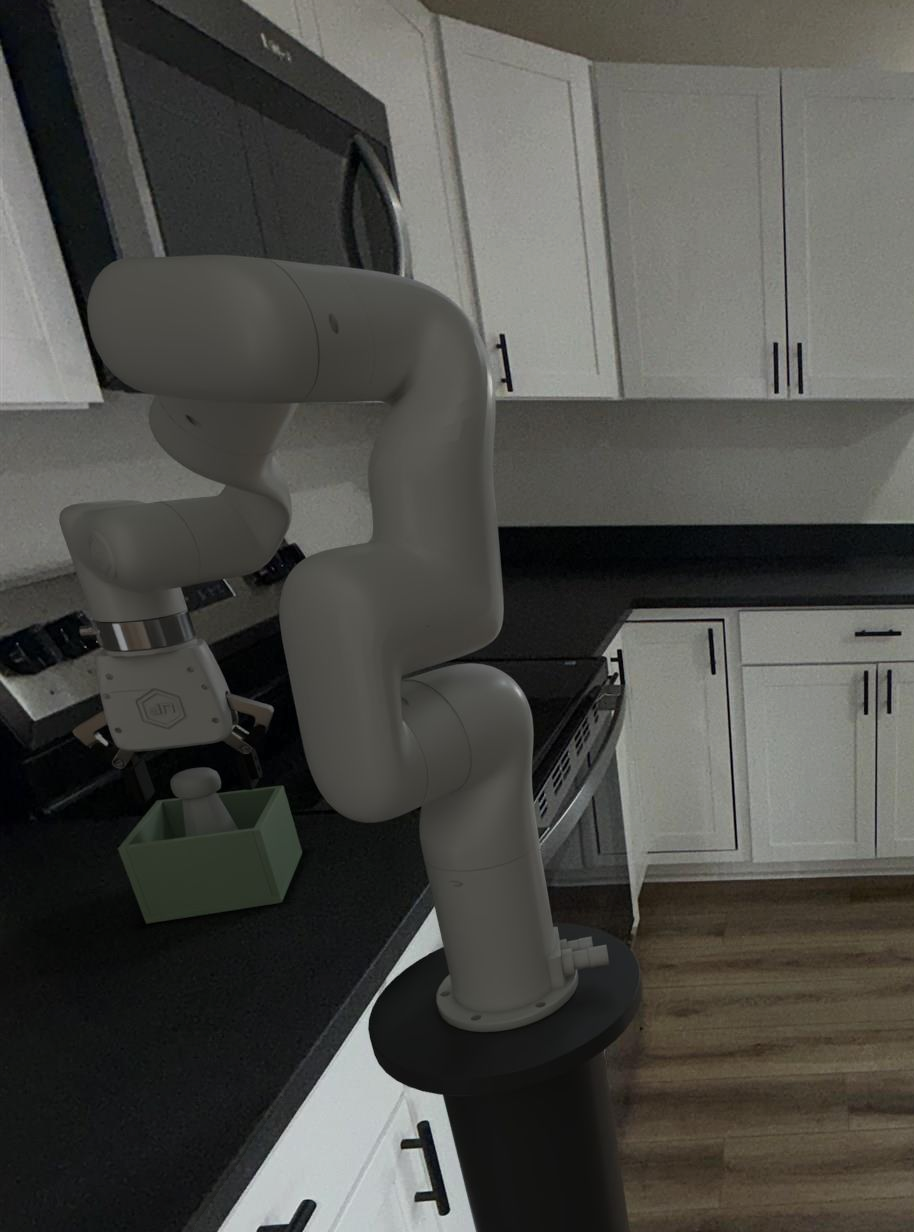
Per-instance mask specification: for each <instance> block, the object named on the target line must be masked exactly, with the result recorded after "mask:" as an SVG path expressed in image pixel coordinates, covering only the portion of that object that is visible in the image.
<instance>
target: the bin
mask: <svg viewBox="0 0 914 1232" xmlns="http://www.w3.org/2000/svg"><path fill="white" fill-rule="evenodd" d="M217 794H218V796H219V798H220V799H221V801H222V803H223V804H224V806H225V808H226V809H227V811H228V813H229V815H230V816H231V818H232V820H233V821H234V823H235V825H236V826H237V828H238V830H235V831H228V832H220V833H212V834H205V835H197V836H190V837H186V832H185V822H184V812H183V802H182V798H178V797H175V798H174V797H173V798H166V799H158V800H155V802H154V803H153V805H152V806H151V807H150V808H149V809H148V811H147V812H146V813H145V814H144V816H143V817H142V818H141V819H140V821H138V823H137V824H136V826H135V827H134V828H133V829H132V831H131V832H130V833H129V834H128V835H127V836H126V838H125V839H124V840H123V841H122V843H121V844H120V845H119V846H118V848H117V850H118V853H119V856H120V858H121V861H122V864H123V866H124V869H125V872H126V874H127V878H128V879H129V882H130V885H131V888H132V890H133V893H134V896H135V898H136V901H137V904H138V906H139V909H140V911H141V914H142V917H143V919H144V922H145V924H148V925H149V924H153V923H154V924H155V923H160V922H166V921H167V922H168V921H172V920H173V921H174V920H180V919H185V918H186V919H187V918H192V917H198V916H205V915H211V914H218V913H219V914H220V913H225V912H231V911H237V910H245V909H251V908H257V907H263V906H270V905H275V904H281V903H283V901H284V898H285V896H286V894H287V891H288V889H289V886H290V884H291V882H292V880H293V876H294V874H295V872H296V869H297V867H298V865H299V861H300V860H301V857H302V855H303V849H302V847H301V843H300V839H299V836H298V832H297V828H296V825H295V822H294V819H293V815H292V811H291V808H290V804H289V800H288V797H287V794H286V790H285V786H284V785H275V786H265V787H259V788H258V787H257V788H254V789H253V790H247V789H241V790H234V791H224V792H217Z"/></svg>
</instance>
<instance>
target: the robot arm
mask: <svg viewBox="0 0 914 1232" xmlns="http://www.w3.org/2000/svg"><path fill="white" fill-rule="evenodd" d="M86 315H87V325H88V329H89V333H90V337H91V340H92V342H93V345H94V348H95V350H96V352H97V354H98V355H99V357H100V360H102V362H103V364H104V365H105V366H106V367H107V368H108V370H109V371H110V372H111V374H113V376H115V377H116V378H117V379H118V380H120V382H122V383H124V384H125V385H126V386H128V387H130V388H132V389H134V390H136V391H139V392H142V393H144V394H148V395H152V396H154V397H153V399H152V401H151V404H150V406H149V410H148V424H149V428H150V431H151V433H152V436H153V437H154V439H155V441H156V442H157V443H158V445H159V446H160V448H162V450H163V451H164V452H165V453H166V454H167V455H168V456H169V457H170V458H172V460H174V461H176V462H177V463H178V464H179V465H181V466H182V467H184V468H186V470H189V471H191V472H192V473H194V474H196V475H198V476H200V477H203V478H205V479H207V480H210V481H212V482H216V483H219V484H222V485H225V486H224V487H223V489H222V490H221V492H219V494H216V495H214V496H213V495H211V496H201V497H189V498H181V499H180V498H179V499H172V500H171V499H170V500H162V501H161V500H160V501H154V502H143V501H140V500H130V499H129V500H128V499H115V500H110V499H109V500H97V501H96V500H95V501H85V502H79V503H74V504H70V505H67V506H65V507H64V508H62V510H61V511H60V513H59V515H58V516H59V517H58V522H59V526H60V530H61V533H62V536H63V538H64V541H65V545H66V547H67V550H68V552H69V553H68V554H69V556H70V558H71V561H72V564H73V566H74V569H75V573H76V574H77V578H78V581H79V584H80V586H81V589H82V592H83V595H84V598H85V600H86V604H87V607H88V609H89V612H90V615H91V618H92V620H91V621H90V623H89V624H88V625H87V624H86V625H80V626H79V634H80V637H81V638H82V640H85V641H86V640H92V641H97V643H98V645H99V648H102V649H101V650H99V651H97V652H95V653H94V664H95V674H96V680H97V685H98V686H97V687H98V690H99V691H98V692H99V696H100V700H101V704H102V707H103V709H102V710H101V711H100V712H98V713H96V714H95V715H93V716H91V717H90V718H88V719H86V720H85V721H83V722H81V723H79V724H78V725H77V726H76V727H74V728H73V729H72V734H73V735H74V737H75V738H77V740H79V741H80V742H81V743H83V744H84V745H85V746H86V747H88V748H89V749H90V751H91V754H94V755H95V756H97V757H99V758H101V759H103V760H105V761H107V762H109V763H111V765H112V767H114V768H115V769H117V770H120V773H121V775H122V779H123V781H124V783H125V786H126V789H127V791H128V792H127V793H129V795H134V798H135V800H136V804H138V805H142V804H146V803H147V802H148V801H149V800H151V798H152V797H153V796H154V795H155V793H156V791H155V787H154V784H153V782H152V779H151V776H150V773H149V770H148V767H147V764H146V761H145V760H144V759H142V757H138V753H139V752H151V751H158V750H167V749H177V748H185V747H193V746H202V745H210V744H215V743H219V742H224V743H225V744H226V745H228V746H230V747H231V748H233V749H235V750H236V751H237V753H236V755H235V758H234V759H235V762H236V765H237V769H238V772H239V776H240V778H241V781H242V786H243V789H244V790H253V789H256V786H257V785H258V783H259V782H260V779H262V777H263V771H262V766H261V763H260V760H259V756H258V753H257V750H256V746H258V744H259V743H260V742H261V740H262V739H263V738H264V737H265V736H266V734H267V732H268V731H269V729H270V724H271V722H272V719H273V715H274V712H275V708H274V707H273V706H272V705H270V704H268V703H264V702H260V701H258V700H254V699H249V698H247V697H243V696H240V695H237V694H233V693H231V691H230V689H229V686H228V684H227V682H226V678H225V676H224V674H223V672H222V670H221V668H220V665H219V664H218V662H217V660H216V658H215V656H214V653H213V652H212V651H211V649H210V647H209V645H208V643H207V642H206V641H205V639H203V638H197V635H196V632H195V629H194V625H193V622H192V619H191V616H190V612H189V610H188V606H187V602H186V599H185V596H184V593H183V590H182V588H184V587H189V586H193V585H199V584H204V583H205V584H206V583H210V582H216V581H221V580H228V579H235V578H239V577H244V576H245V577H246V576H248V575H251V574H254V573H256V572H258V571H259V570H261V569H263V568H264V567H265V566H266V565H267V564H269V562H270V561H271V560H272V559H273V557H275V555H276V553H277V551H278V550H279V548H280V546H281V544H282V542H283V541H284V538H285V537H286V535H287V533H288V531H289V530H290V527H291V523H292V519H293V509H292V508H293V505H292V498H291V492H290V491H291V490H290V487H289V484H288V480H287V478H286V475H285V473H284V471H283V469H282V467H281V465H280V464H279V462H278V461H277V459H276V457H275V453H276V452H277V450H278V447H279V446H280V444H281V441H282V439H283V437H284V436H285V433H286V432H287V430H288V427H289V425H290V423H291V421H292V419H293V417H294V415H295V413H296V411H297V409H298V407H299V405H300V404H315V403H316V404H318V403H320V404H321V403H324V404H325V403H327V404H329V403H355V402H356V403H357V402H359V403H360V402H383V403H385V404H387V405H388V406H389V408H390V412H389V414H388V415H387V416H386V418H385V419H384V421H383V423H382V425H381V426H380V428H379V430H378V432H377V435H376V438H375V439H374V443H373V447H372V450H371V453H370V456H369V461H368V466H367V489H368V494H369V499H370V504H371V515H372V535H371V538H370V539H369V540H368V541H367V542H363V543H358V544H352V545H351V544H350V545H345V546H340V547H333V548H330V549H325V550H321V551H319V552H316V553H314V554H311V555H309V556H307V557H305V558H303V559H302V560H300V561H299V562H298V563H296V565H294V567H293V568H292V569H291V571H290V572H289V573H288V575H287V577H286V579H285V581H284V583H283V586H282V590H281V594H280V598H279V607H278V608H279V609H278V615H279V616H278V617H279V626H280V633H281V634H280V635H281V641H282V645H283V651H284V656H285V660H286V665H287V666H286V667H287V671H288V676H289V682H290V687H291V692H292V697H293V702H294V706H295V710H296V716H297V717H296V718H297V722H298V727H299V733H300V738H301V742H302V746H303V751H304V755H305V758H306V762H307V766H308V769H309V772H310V774H311V777H312V779H313V781H314V783H315V785H316V788H317V790H318V791H319V792H320V794H321V796H322V797H323V799H324V800H325V801H326V802H327V803H328V804H329V806H331V808H332V809H334V811H336V812H337V813H338V814H340V815H341V816H343V817H345V818H347V819H349V820H351V821H355V822H359V823H364V824H365V823H366V824H369V823H370V824H371V823H372V824H373V823H375V824H376V823H381V822H385V821H389V820H393V819H395V818H397V817H400V816H404V815H405V814H408V813H410V812H412V811H414V810H417V809H418V808H420V813H419V826H418V828H419V829H418V830H419V841H420V846H421V852H422V856H423V861H424V866H425V870H426V875H427V880H428V884H429V888H430V892H431V893H430V894H431V896H432V902H433V906H434V910H435V915H436V919H437V923H438V929H439V933H440V937H441V941H442V947H444V951H445V956H446V960H447V965H448V969H449V975H448V976H447V977H446V978H445V979H444V981H443V982H442V984H441V985H440V987H439V989H438V992H437V994H436V1002H437V1006H438V1010H439V1013H440V1015H441V1016H442V1018H443V1019H444V1020H445V1021H446V1022H448V1023H449V1024H450V1025H453V1026H455V1027H457V1028H459V1029H464V1030H468V1031H474V1032H498V1031H505V1030H511V1029H515V1028H519V1027H523V1026H526V1025H529V1024H531V1023H534V1022H536V1021H539V1020H541V1019H543V1018H545V1017H547V1016H549V1015H550V1014H552V1013H553V1012H555V1011H556V1010H558V1009H559V1008H560V1007H562V1006H563V1005H564V1004H565V1003H566V1002H567V1001H568V1000H569V999H570V998H571V996H572V995H573V994H574V992H575V990H576V988H577V986H578V971H577V970H578V969H583V968H588V967H590V968H592V967H597V966H603V965H608V964H609V959H608V952H607V946H606V945H601V946H596V947H593V943H592V937H586V938H580V939H578V940H573V941H568V942H567V941H566V939H563V940H560V939H559V933H558V927H553V923H554V922H553V916H552V911H551V904H550V899H549V898H550V897H549V893H548V886H547V881H546V873H545V868H544V861H543V857H542V850H541V845H540V844H541V843H540V836H539V830H538V824H537V818H536V811H535V802H534V793H533V753H534V722H533V721H534V720H533V714H532V710H531V707H530V704H529V701H528V699H527V696H526V694H525V692H524V691H523V689H522V688H521V686H519V685H520V684H518V683H517V682H516V680H515V679H513V678H512V677H511V676H510V675H509V674H507V673H506V672H505V671H502V669H499V668H497V667H494V666H491V665H487V664H483V663H473V662H468V663H458V664H452V665H447V666H444V667H440V668H439V667H438V668H436V669H432V670H430V671H427V672H424V673H420V674H417V675H414V676H410V677H407V678H403V679H402V677H403V676H405V675H408V674H412V673H414V672H417V671H420V670H423V669H426V668H430V667H433V666H436V665H441V664H442V663H447V662H449V661H452V660H456V659H458V658H462V657H464V656H467V655H470V654H472V653H475V652H476V651H479V650H481V649H483V648H485V647H487V646H488V645H489V644H491V643H493V642H494V640H495V639H496V638H497V637H498V636H499V634H500V632H501V629H502V627H503V623H504V622H503V621H504V612H505V611H504V609H505V608H504V607H505V606H504V586H503V573H502V562H501V552H500V551H501V549H500V538H499V525H498V524H499V523H498V512H497V503H496V496H495V483H494V481H495V480H494V454H495V453H494V451H495V450H494V449H495V436H496V435H495V434H496V417H497V416H496V415H497V399H496V398H497V397H496V384H495V376H494V371H493V367H492V363H491V362H492V361H491V359H490V356H489V353H488V350H487V347H486V345H485V342H484V340H483V339H482V337H481V335H480V333H479V331H478V330H477V328H476V326H475V324H474V323H473V322H472V320H471V319H470V318H469V316H468V315H467V314H466V312H465V311H464V310H463V309H462V308H461V307H460V306H459V305H458V304H457V303H456V302H455V301H454V300H453V299H451V298H450V297H449V296H447V295H446V294H444V293H443V292H441V291H440V290H438V289H436V288H435V287H432V286H431V285H428V284H426V283H424V282H421V281H418V280H416V279H412V278H409V277H406V276H402V275H398V274H393V273H390V272H389V273H388V272H383V271H377V270H371V269H364V268H356V267H348V266H339V265H329V264H315V263H308V262H307V263H306V262H299V261H290V260H282V259H281V260H280V259H272V258H264V257H254V256H243V255H232V254H231V255H230V254H199V255H197V254H196V255H195V254H194V255H178V256H175V255H174V256H151V257H150V256H149V257H133V256H132V257H131V256H129V257H123V258H120V259H117V260H115V261H112V262H111V263H109V264H108V265H106V266H104V268H103V269H102V270H100V272H99V273H98V275H97V276H96V277H95V279H94V280H93V283H92V285H91V287H90V291H89V294H88V298H87V309H86ZM238 712H239V713H243V714H246V715H250V716H252V717H253V718H254V724H253V727H252V729H250V730H249V731H247V730H246V729H244V728H243V727H241V726H240V725H239V715H238ZM106 726H107V727H108V730H109V733H110V736H111V738H112V741H113V742H112V741H111V740H108V739H106V738H104V737H103V735H102V734H101V733H100V732H99V731H100V729H102V728H104V727H106Z"/></svg>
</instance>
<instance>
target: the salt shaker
mask: <svg viewBox="0 0 914 1232" xmlns="http://www.w3.org/2000/svg"><path fill="white" fill-rule="evenodd" d="M169 783H170V789H171V791H172V794H173V795H174V796H175V798H182V802H183V812H184V822H185V832H186V837H190V836H197V835H205V834H212V833H220V832H228V831H235V830H238V828H237V826H236V825H235V823H234V821H233V820H232V818H231V816H230V815H229V813H228V811H227V809H226V808H225V806H224V804H223V803H222V801H221V799H220V798H219V796H218V794H217V793H218V791H219V790H221V787H222V780H221V777H220V775H219V772H218V771H217V770H214V768H213V769H212V768H210V767H206V766H205V767H204V766H203V767H201V766H200V767H193V768H188V769H185V770H181V771H179V772H177V773H176V774H174V775H172V777H171V778H170V782H169Z"/></svg>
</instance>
